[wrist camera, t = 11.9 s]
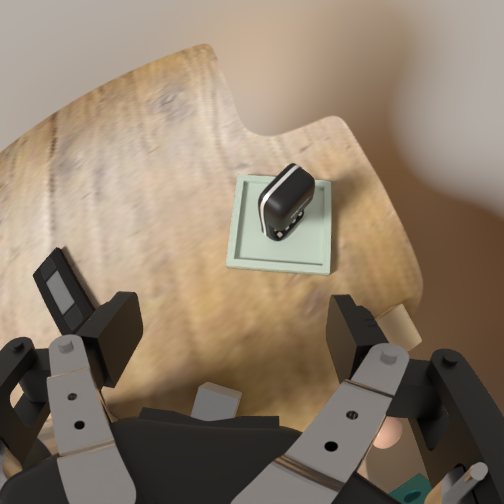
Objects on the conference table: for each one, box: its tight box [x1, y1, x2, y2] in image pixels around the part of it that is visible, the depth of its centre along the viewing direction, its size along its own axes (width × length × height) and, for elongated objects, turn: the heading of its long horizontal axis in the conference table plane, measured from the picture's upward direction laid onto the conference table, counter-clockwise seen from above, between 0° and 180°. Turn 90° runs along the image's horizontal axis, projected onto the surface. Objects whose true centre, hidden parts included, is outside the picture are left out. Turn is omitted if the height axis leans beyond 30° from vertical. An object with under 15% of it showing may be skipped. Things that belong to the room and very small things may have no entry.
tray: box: [226, 175, 331, 276], centre depth 43 cm, size 14×14×2 cm
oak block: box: [375, 304, 422, 352], centre depth 36 cm, size 6×6×4 cm
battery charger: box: [258, 163, 315, 241], centre depth 37 cm, size 7×4×11 cm, turn 138°
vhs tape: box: [33, 247, 96, 336], centre depth 43 cm, size 8×14×2 cm, turn 43°
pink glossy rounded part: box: [373, 416, 402, 448], centre depth 32 cm, size 4×4×5 cm
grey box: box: [190, 381, 243, 421], centre depth 35 cm, size 5×5×5 cm
